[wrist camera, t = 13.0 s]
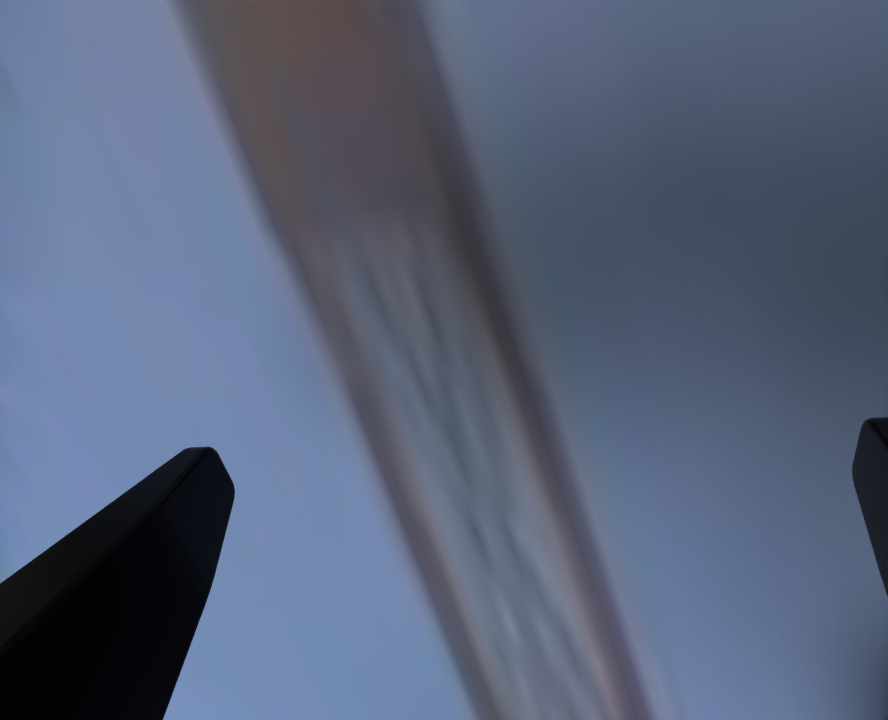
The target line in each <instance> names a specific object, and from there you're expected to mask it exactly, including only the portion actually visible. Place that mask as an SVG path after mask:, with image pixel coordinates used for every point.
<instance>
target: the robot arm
mask: <svg viewBox="0 0 888 720" xmlns="http://www.w3.org/2000/svg"><path fill="white" fill-rule="evenodd" d="M852 476H853V482H854V486H855V490H856V493H857V496H858V500H859V503H860V507H861V510H862V513H863V517H864V520H865V524H866V527H867V530H868V534H869V537H870V541H871V544H872V547H873V551H874V554H875V558H876V561H877V564H878V568H879V571H880V575H881V578H882V581H883V584H884V587H885V590H886V593H887V596H888V417H884V418H870V419H867V420H866V421H864V423H863V424H862V427H861V430H860V435H859V439H858V443H857V448H856V452H855V457H854V461H853V466H852ZM234 495H235V490H234V485H233V482H232V480H231V478H230V476H229V474H228V472H227V470H226V468H225V466H224V464H223V462H222V460H221V458H220V456H219V455H218V453H217V451H216V450H214V449H213V448H211V447H191V448H187V449H184V450H183V451H181V452H180V453H179V454H177V455H176V456H174V457H173V458H172V459H170V460H169V461H168V462H166V463H165V464H164V465H162V466H161V467H159V468H158V469H157V470H155V471H154V472H153V473H151V474H150V475H148V476H147V477H146V478H144V479H143V480H142V481H140V482H139V483H137V484H136V485H135V486H133V487H132V488H131V489H129V490H128V491H127V492H125V493H124V494H122V495H121V496H120V497H118V498H117V499H116V500H114V501H113V502H111V503H110V504H109V505H107V506H106V507H105V508H103V509H102V510H101V511H99V512H98V513H96V514H95V515H94V516H92V517H91V518H90V519H88V520H87V521H85V522H84V523H83V524H81V525H80V526H79V527H77V528H76V529H74V530H73V531H72V532H70V533H69V534H68V535H66V536H65V537H64V538H62V539H61V540H59V541H58V542H57V543H55V544H54V545H53V546H51V547H50V548H48V549H47V550H46V551H44V552H43V553H42V554H40V555H39V556H37V557H36V558H35V559H33V560H32V561H31V562H29V563H28V564H27V565H25V566H24V567H22V568H21V569H20V570H18V571H17V572H16V573H14V574H13V575H11V576H10V577H9V578H7V579H6V580H5V581H3V582H2V583H1V584H0V720H163V718H164V715H165V712H166V710H167V707H168V704H169V702H170V699H171V696H172V694H173V691H174V688H175V685H176V683H177V680H178V677H179V675H180V672H181V669H182V666H183V664H184V661H185V658H186V656H187V653H188V650H189V647H190V645H191V642H192V639H193V637H194V634H195V631H196V628H197V626H198V623H199V620H200V618H201V615H202V612H203V610H204V607H205V604H206V601H207V598H208V595H209V592H210V589H211V586H212V583H213V579H214V576H215V572H216V568H217V564H218V560H219V557H220V553H221V549H222V545H223V541H224V537H225V533H226V529H227V525H228V521H229V517H230V514H231V510H232V506H233V502H234Z"/></svg>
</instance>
